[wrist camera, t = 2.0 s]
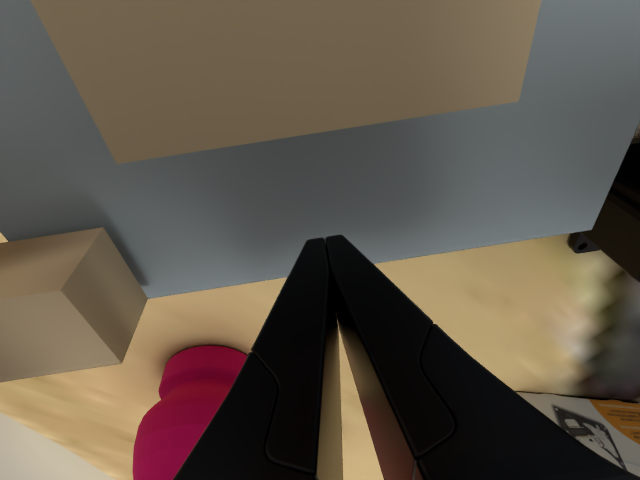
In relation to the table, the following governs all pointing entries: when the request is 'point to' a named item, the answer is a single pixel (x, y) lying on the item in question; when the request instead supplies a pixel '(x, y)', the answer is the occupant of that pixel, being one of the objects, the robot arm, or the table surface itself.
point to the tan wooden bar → (65, 304)
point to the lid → (309, 126)
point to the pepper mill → (183, 409)
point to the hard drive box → (596, 425)
